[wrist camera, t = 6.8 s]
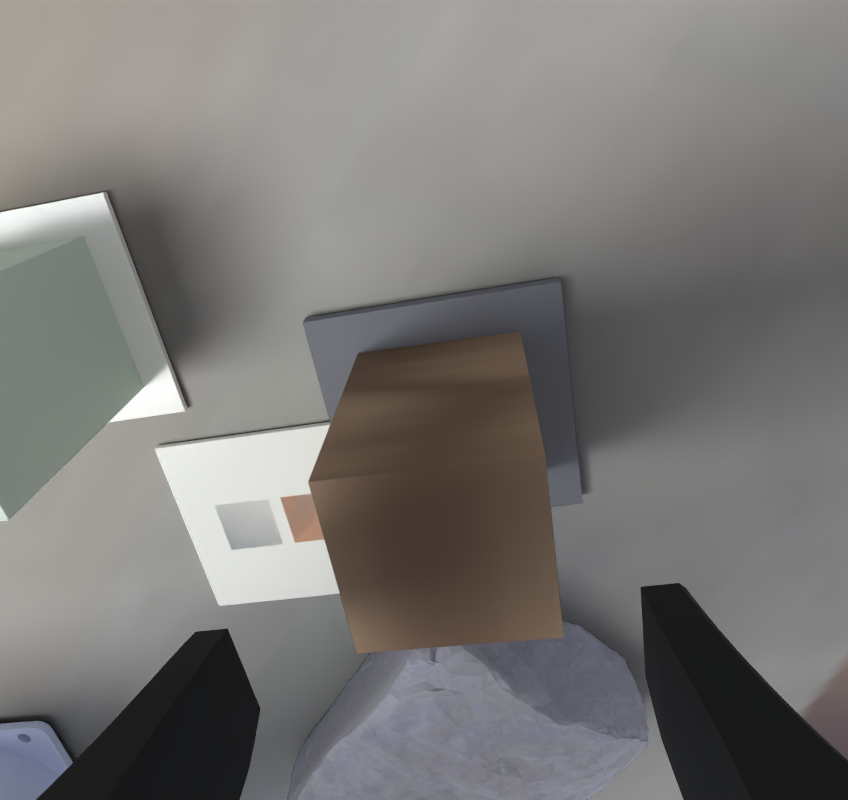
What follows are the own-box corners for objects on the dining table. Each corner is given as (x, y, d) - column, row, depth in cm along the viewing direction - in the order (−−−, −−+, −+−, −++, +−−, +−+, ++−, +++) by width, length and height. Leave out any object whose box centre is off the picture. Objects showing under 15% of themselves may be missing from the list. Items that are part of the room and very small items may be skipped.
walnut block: (387, 488, 21) (357, 653, 15) (357, 353, 19) (308, 482, 13) (535, 472, 20) (563, 637, 14) (520, 331, 18) (545, 455, 12)
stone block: (645, 619, 25) (413, 547, 22) (702, 743, 21) (429, 678, 18) (484, 778, 31) (277, 740, 27) (506, 901, 27) (266, 875, 23)
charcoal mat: (361, 521, 22) (359, 528, 21) (305, 317, 19) (302, 322, 18) (580, 495, 21) (582, 503, 20) (559, 277, 18) (561, 281, 17)
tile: (-4, 436, 21) (-8, 438, 21) (-110, 232, 18) (-115, 234, 18) (187, 408, 20) (185, 411, 20) (106, 191, 17) (102, 192, 17)
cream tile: (221, 601, 24) (219, 605, 23) (157, 445, 21) (154, 449, 21) (398, 583, 23) (398, 587, 22) (356, 418, 20) (355, 421, 20)
